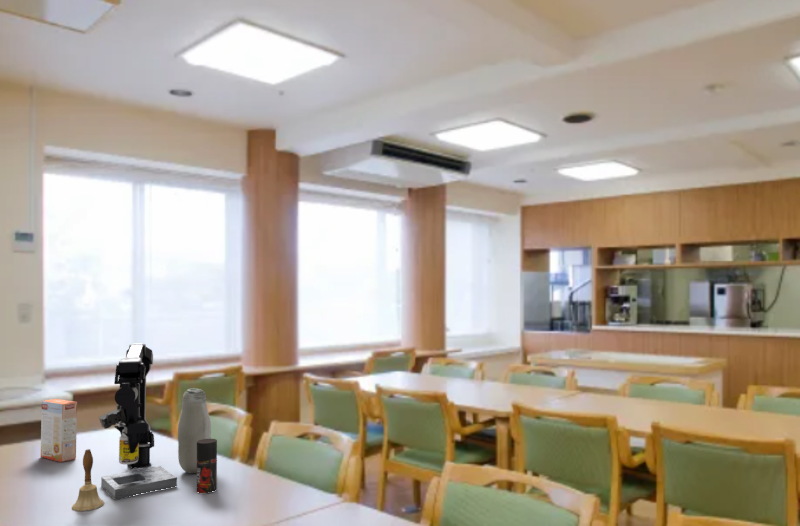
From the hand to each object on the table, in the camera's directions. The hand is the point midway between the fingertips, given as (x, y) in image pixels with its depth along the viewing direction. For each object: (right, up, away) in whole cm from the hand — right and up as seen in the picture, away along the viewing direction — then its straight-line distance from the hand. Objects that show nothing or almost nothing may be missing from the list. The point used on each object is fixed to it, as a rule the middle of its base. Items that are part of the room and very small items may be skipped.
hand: (129, 451), depth 191 cm
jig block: (+2, -12, +1) cm, 12 cm away
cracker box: (-41, -13, +34) cm, 55 cm away
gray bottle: (+15, -12, +16) cm, 25 cm away
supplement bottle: (0, -4, 0) cm, 4 cm away
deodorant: (+25, -12, -2) cm, 27 cm away
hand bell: (-5, -11, -15) cm, 20 cm away
